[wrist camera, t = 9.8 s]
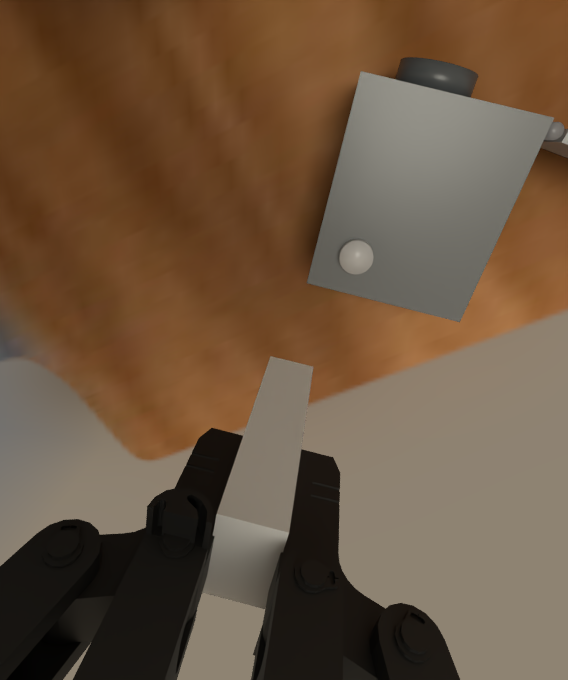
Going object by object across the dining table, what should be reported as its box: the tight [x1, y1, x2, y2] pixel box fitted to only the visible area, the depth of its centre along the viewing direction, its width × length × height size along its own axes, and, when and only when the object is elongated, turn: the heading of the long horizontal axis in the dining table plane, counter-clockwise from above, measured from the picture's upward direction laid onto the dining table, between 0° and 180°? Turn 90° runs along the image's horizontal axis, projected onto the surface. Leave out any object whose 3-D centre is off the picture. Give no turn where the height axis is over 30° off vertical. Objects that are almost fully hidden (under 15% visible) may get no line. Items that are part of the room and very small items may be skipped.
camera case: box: [307, 57, 564, 322], centre depth 31 cm, size 16×13×9 cm
